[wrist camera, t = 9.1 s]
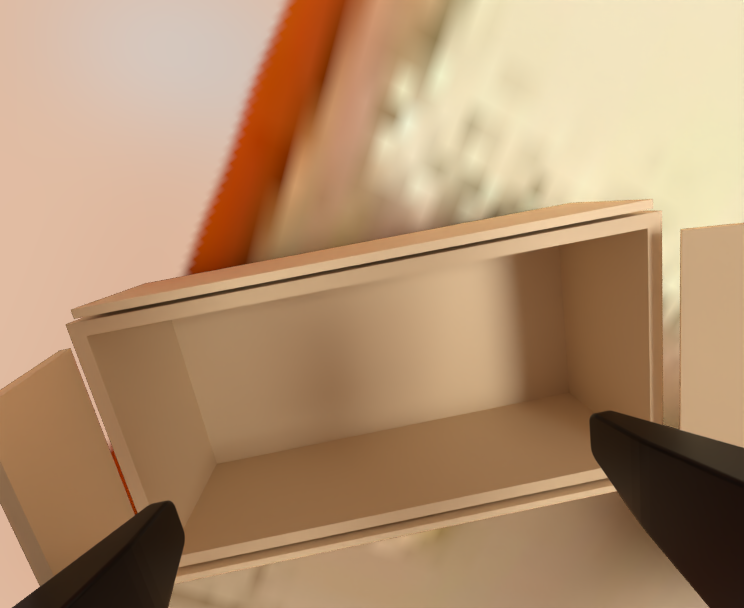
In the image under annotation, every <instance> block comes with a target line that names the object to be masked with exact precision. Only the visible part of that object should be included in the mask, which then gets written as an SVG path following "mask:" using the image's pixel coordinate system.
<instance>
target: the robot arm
mask: <svg viewBox="0 0 744 608" xmlns="http://www.w3.org/2000/svg"><path fill="white" fill-rule="evenodd" d="M589 426H590V444H591V451H592V454H593V456H594V458H595V460H596V461H597V463H598V464H599V466H600V467H601V469H602V470H603V472H604V473H605V474H606V476H607V477H608V479H609V480H610V482H611V483H612V485H613V486H614V487H615V489H616V490H617V492H618V493H619V495H620V496H621V498H622V499H623V501H624V502H625V503H626V505H627V506H628V508H629V509H630V511H631V512H632V514H633V515H634V516H635V518H636V519H637V520H638V522H639V523H640V524H641V526H642V527H643V528H644V529H645V531H646V532H647V533H648V534H649V536H650V537H651V538H652V539H653V541H654V542H655V543H656V544H657V545H658V546H659V548H660V549H661V550H662V551H663V552H664V554H665V555H666V556H667V557H668V558H669V560H670V561H671V562H672V563H673V564H674V566H675V567H676V568H677V569H678V570H679V572H680V573H681V574H682V575H683V576H684V578H685V579H686V580H687V581H688V582H689V584H690V585H691V586H692V587H693V588H694V590H695V591H696V592H697V593H698V594H699V596H700V597H701V598H702V599H703V600H704V601H705V603H706V604H707V605H708V606H709V607H710V608H744V448H743V447H739V446H736V445H732V444H729V443H725V442H722V441H718V440H715V439H711V438H707V437H704V436H700V435H697V434H693V433H690V432H686V431H683V430H679V429H676V428H672V427H668V426H665V425H661V424H658V423H654V422H651V421H647V420H644V419H640V418H636V417H633V416H629V415H626V414H622V413H619V412H615V411H611V410H607V411H603V412H598V413H593V414H592V415H591V416H590V419H589ZM184 544H185V533H184V529H183V527H182V524H181V521H180V518H179V515H178V512H177V510H176V507H175V505H174V503H173V502H172V501H170V500H167V501H162V502H157V503H152V504H150V505H148V506H147V507H145V508H144V509H143V510H141V511H140V512H139V513H137V514H136V515H135V516H133V517H132V518H131V519H129V520H128V521H127V522H125V523H124V524H123V525H121V526H120V527H119V528H117V529H116V530H115V531H113V532H112V533H111V534H109V535H108V536H107V537H105V538H104V539H103V540H101V541H100V542H99V543H97V544H96V545H95V546H93V547H92V548H91V549H89V550H88V551H87V552H85V553H84V554H83V555H81V556H80V557H79V558H77V559H76V560H75V561H73V562H72V563H71V564H70V565H68V566H67V567H66V568H64V569H63V570H62V571H60V572H59V573H58V574H56V575H55V576H54V577H52V578H51V579H50V580H48V581H47V582H46V583H44V584H43V585H42V586H40V587H39V588H38V589H36V590H35V591H34V592H32V593H31V594H30V595H28V596H27V597H26V598H24V599H23V600H22V601H20V602H19V603H18V604H16V605H15V606H14V607H12V608H168V606H169V602H170V598H171V594H172V591H173V587H174V583H175V579H176V575H177V571H178V567H179V564H180V560H181V556H182V552H183V548H184Z"/></svg>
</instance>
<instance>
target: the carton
mask: <svg viewBox="0 0 744 608" xmlns="http://www.w3.org/2000/svg"><path fill="white" fill-rule="evenodd" d="M652 208H653V199H644V200H621V201H599V202H577V203H567V204H562V205H557V206H551V207H546V208H541V209H536V210H530V211H525V212H520V213H514V214H509V215H504V216H499V217H493V218H488V219H483V220H477V221H472V222H467V223H462V224H456V225H451V226H446V227H441V228H435V229H430V230H425V231H419V232H414V233H409V234H404V235H398V236H393V237H388V238H382V239H377V240H372V241H367V242H361V243H356V244H351V245H345V246H340V247H335V248H330V249H324V250H319V251H314V252H308V253H303V254H298V255H293V256H287V257H282V258H277V259H272V260H266V261H261V262H256V263H250V264H245V265H240V266H235V267H229V268H224V269H219V270H213V271H208V272H203V273H198V274H192V275H187V276H182V277H176V278H171V279H166V280H161V281H155V282H151V283H145V284H142V285H139V286H137V287H134V288H131V289H128V290H125V291H122V292H120V293H117V294H114V295H111V296H108V297H105V298H103V299H100V300H97V301H94V302H91V303H89V304H86V305H83V306H80V307H77V308H75V309H72V310H71V312H72V315H73V317H74V319H75V318H81V317H83V318H81V319H78V320H76V321H73V322H71V323H68V324H66V327H67V330H68V332H69V335H70V337H71V340H72V343H73V345H74V348H75V351H76V353H77V356H78V358H79V361H80V364H81V366H82V369H83V371H84V374H85V376H86V379H87V382H88V385H89V387H90V390H91V392H92V395H93V398H94V400H95V403H96V405H97V408H98V411H99V413H100V416H101V418H102V421H103V424H104V426H105V429H106V432H107V434H108V437H109V439H110V442H111V445H112V447H113V450H114V452H115V455H116V458H117V460H118V463H119V465H120V468H121V471H122V473H123V476H124V478H125V481H126V484H127V486H128V489H129V492H130V494H131V497H132V499H133V502H134V505H135V507H136V510H137V512H138V513H139V512H140V511H141V510H143V509H144V508H145V507H147V506H148V505H150V504H152V503H157V502H162V501H167V500H170V501H172V502H173V503H174V505H175V507H176V510H177V512H178V515H179V518H180V521H181V524H182V527H183V529H184V533H185V544H184V548H183V552H182V556H181V560H180V564H179V567H178V571H177V575H176V579H175V583H174V584H177V583H181V582H186V581H191V580H196V579H200V578H205V577H210V576H215V575H219V574H224V573H229V572H234V571H239V570H243V569H248V568H253V567H258V566H262V565H267V564H272V563H277V562H281V561H286V560H291V559H296V558H301V557H305V556H310V555H315V554H320V553H324V552H329V551H334V550H339V549H343V548H348V547H353V546H358V545H363V544H367V543H372V542H377V541H382V540H386V539H391V538H396V537H401V536H405V535H410V534H415V533H420V532H425V531H429V530H434V529H439V528H444V527H448V526H453V525H458V524H463V523H467V522H472V521H477V520H482V519H487V518H491V517H496V516H501V515H506V514H510V513H515V512H520V511H525V510H529V509H534V508H539V507H544V506H548V505H553V504H558V503H563V502H568V501H572V500H577V499H582V498H587V497H591V496H596V495H601V494H606V493H610V492H615V491H617V490H616V489H615V487H614V486H613V485H612V483H611V482H610V480H609V479H608V477H607V476H606V474H605V473H604V472H603V470H602V469H601V467H600V466H599V464H598V463H597V461H596V460H595V458H594V456H593V454H592V451H591V444H590V426H589V419H590V416H591V415H592V414H593V413H598V412H603V411H607V410H611V411H615V412H619V413H622V414H626V415H629V416H633V417H636V418H640V419H644V420H647V421H651V422H654V423H658V424H661V425H663V335H662V211H642V210H647V209H652Z"/></svg>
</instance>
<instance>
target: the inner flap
mask: <svg viewBox="0 0 744 608" xmlns="http://www.w3.org/2000/svg"><path fill="white" fill-rule="evenodd" d="M679 430H683V431H686V432H690V433H693V434H697V435H700V436H704V437H707V438H711V439H715V440H718V441H722V442H725V443H729V444H732V445H736V446H739V447H743V448H744V223H737V224H727V225H717V226H707V227H697V228H687V229H681V234H680V428H679Z"/></svg>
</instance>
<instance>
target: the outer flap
mask: <svg viewBox="0 0 744 608" xmlns="http://www.w3.org/2000/svg"><path fill="white" fill-rule="evenodd" d="M0 504H1V506H2V508H3V510H4V512H5V514H6V516H7V518H8V520H9V522H10V525H11V527H12V529H13V531H14V533H15V535H16V537H17V539H18V541H19V543H20V546H21V547H22V550H23V552H24V554H25V556H26V558H27V560H28V562H29V564H30V566H31V569H32V571H33V573H34V575H35V577H36V579H37V581H38V583H39V585H40V586H42V585H43V584H44V583H46V582H47V581H48V580H50V579H51V578H52V577H54V576H55V575H56V574H58V573H59V572H60V571H62V570H63V569H64V568H66V567H67V566H68V565H70V564H71V563H72V562H73V561H75V560H76V559H77V558H79V557H80V556H81V555H83V554H84V553H85V552H87V551H88V550H89V549H91V548H92V547H93V546H95V545H96V544H97V543H99V542H100V541H101V540H103V539H104V538H105V537H107V536H108V535H109V534H111V533H112V532H113V531H115V530H116V529H117V528H119V527H120V526H121V525H123V524H124V523H125V522H127V521H128V520H129V519H131V518H132V517H133V516H135V514H134V512H133V509H132V506H131V504H130V501H129V499H128V496H127V493H126V491H125V488H124V486H123V483H122V480H121V478H120V475H119V473H118V470H117V467H116V465H115V462H114V460H113V457H112V455H111V452H110V449H109V447H108V444H107V442H106V439H105V437H104V434H103V431H102V429H101V426H100V423H99V421H98V418H97V416H96V413H95V410H94V408H93V405H92V403H91V400H90V398H89V395H88V392H87V390H86V387H85V385H84V382H83V379H82V377H81V374H80V372H79V369H78V366H77V364H76V361H75V359H74V356H73V354H72V351H71V348H69V349H65V350H61V351H58V352H57V353H55V354H54V355H52V356H51V357H49V358H48V359H46V360H45V361H43V362H42V363H40V364H39V365H37V366H36V367H34V368H33V369H31V370H30V371H28V372H27V373H25V374H24V375H22V376H21V377H19V378H18V379H16V380H15V381H13V382H11V383H10V384H8V385H7V386H6V387H4V388H2V389H1V390H0Z"/></svg>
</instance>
